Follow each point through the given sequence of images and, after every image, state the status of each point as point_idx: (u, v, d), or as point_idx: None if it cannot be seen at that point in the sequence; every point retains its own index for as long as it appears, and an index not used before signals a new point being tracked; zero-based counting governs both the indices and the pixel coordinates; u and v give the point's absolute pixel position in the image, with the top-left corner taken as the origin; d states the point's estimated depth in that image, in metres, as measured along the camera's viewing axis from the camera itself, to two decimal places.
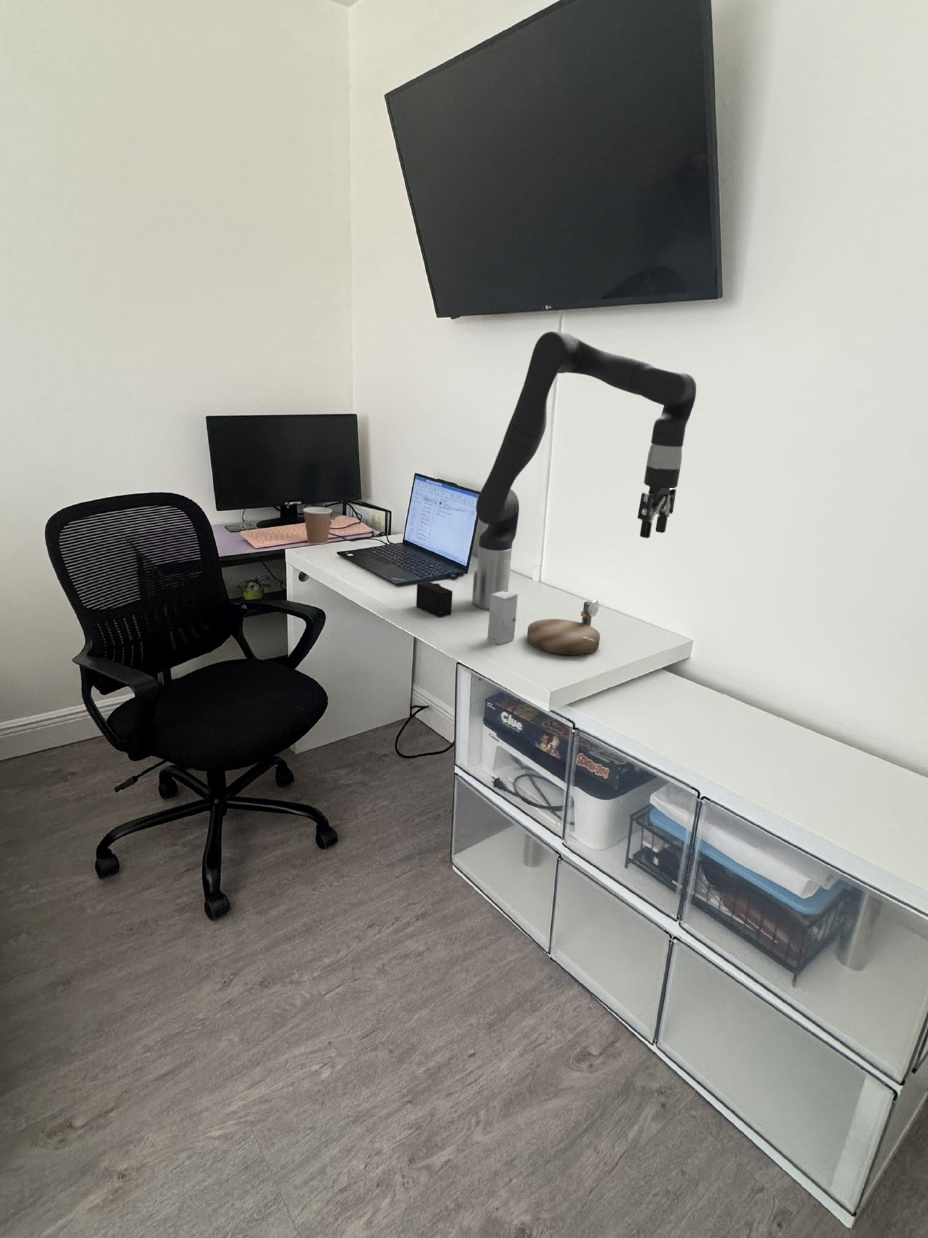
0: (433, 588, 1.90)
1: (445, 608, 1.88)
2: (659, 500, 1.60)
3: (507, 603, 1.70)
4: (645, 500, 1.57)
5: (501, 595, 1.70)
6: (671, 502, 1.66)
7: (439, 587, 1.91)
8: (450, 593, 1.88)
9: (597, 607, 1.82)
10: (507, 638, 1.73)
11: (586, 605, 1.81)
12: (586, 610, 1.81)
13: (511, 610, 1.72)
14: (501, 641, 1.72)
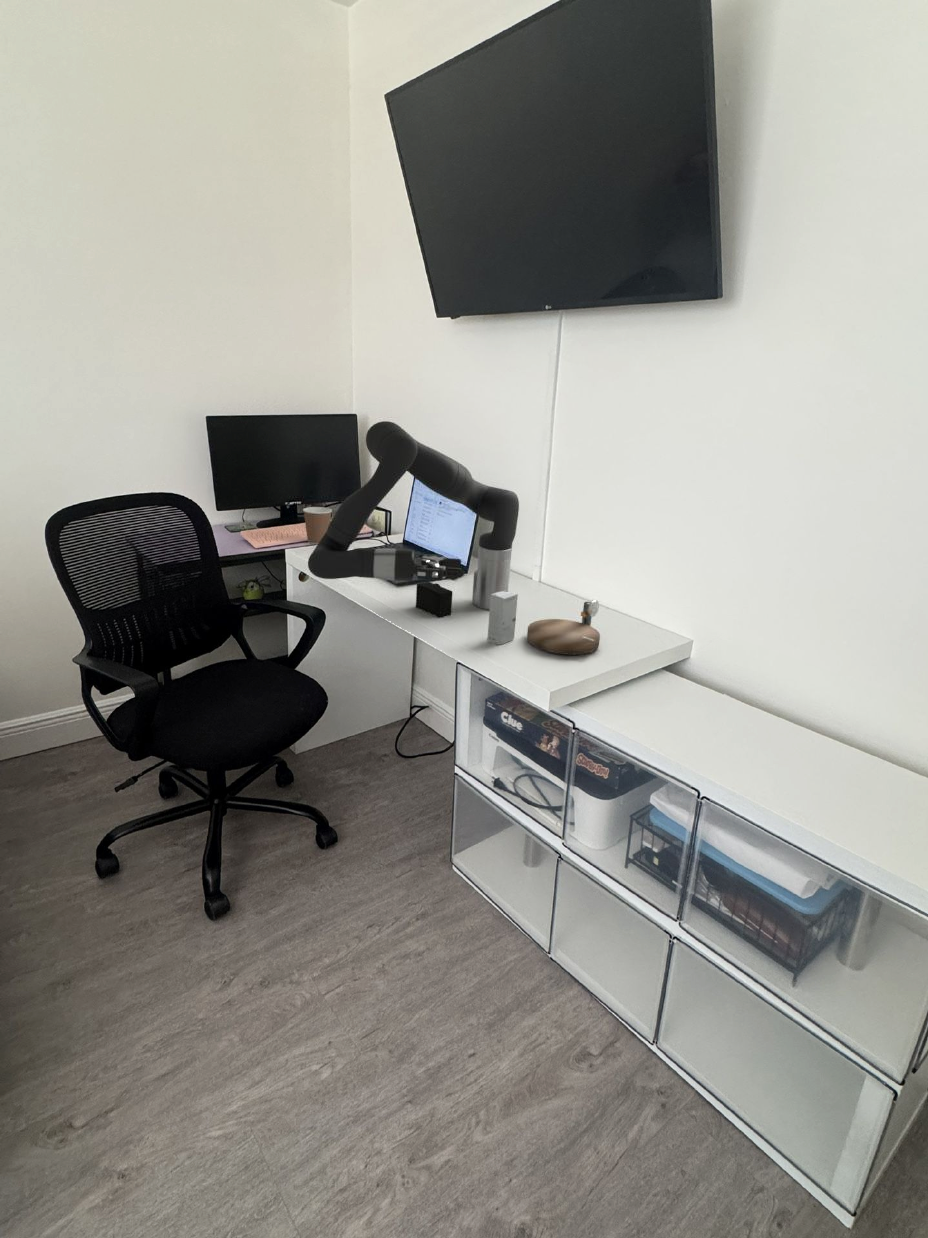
0: (432, 588, 1.89)
1: (445, 608, 1.88)
2: None
3: (507, 603, 1.70)
4: None
5: (501, 595, 1.70)
6: None
7: (439, 587, 1.91)
8: (450, 593, 1.88)
9: (597, 607, 1.82)
10: (507, 638, 1.73)
11: (586, 605, 1.81)
12: (586, 610, 1.81)
13: (511, 610, 1.72)
14: (501, 641, 1.72)
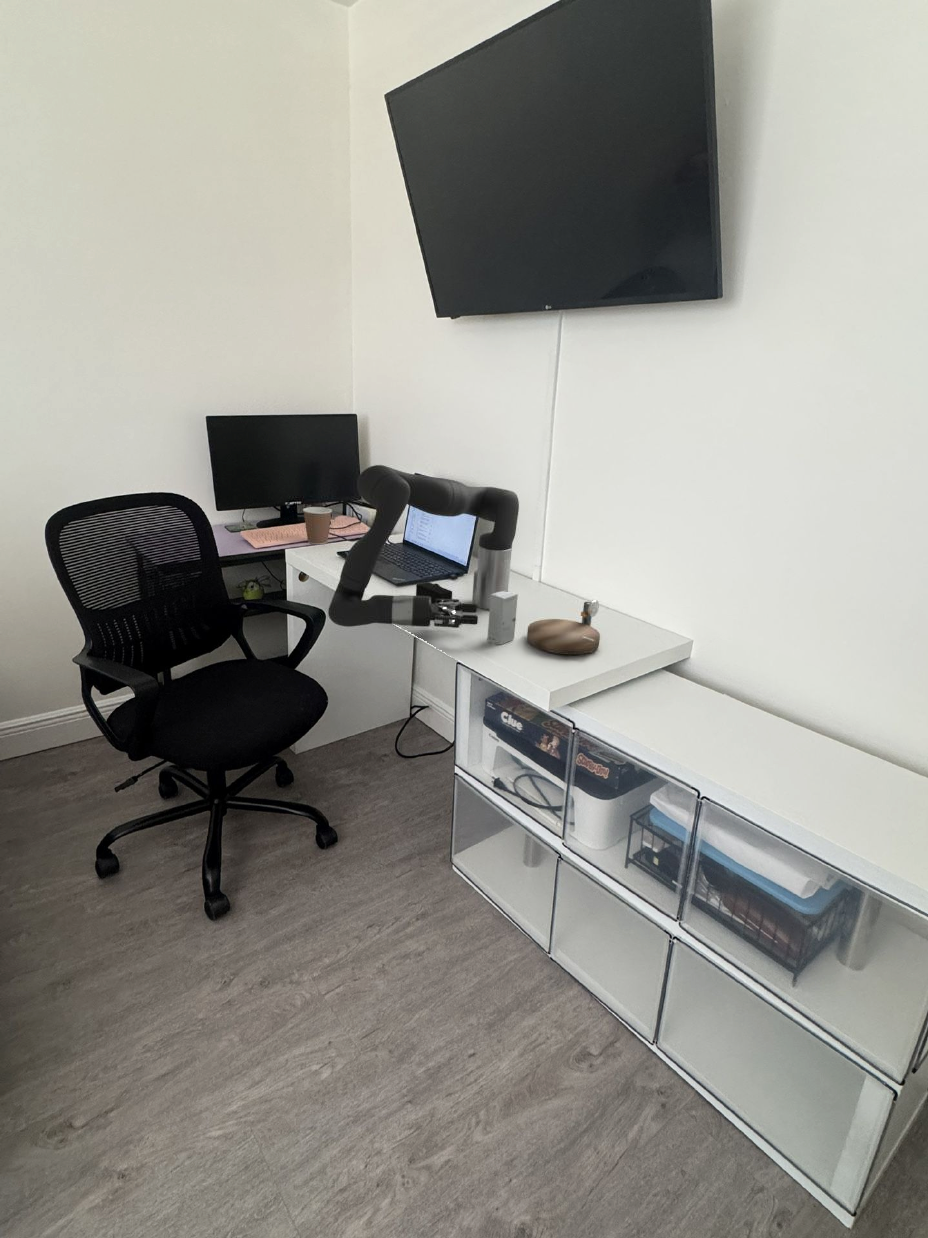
0: (432, 588, 1.89)
1: None
2: None
3: (507, 603, 1.70)
4: None
5: (501, 595, 1.70)
6: None
7: (439, 587, 1.90)
8: (450, 593, 1.88)
9: (597, 607, 1.82)
10: (507, 638, 1.73)
11: (586, 605, 1.81)
12: (586, 610, 1.81)
13: (511, 610, 1.72)
14: (501, 641, 1.72)
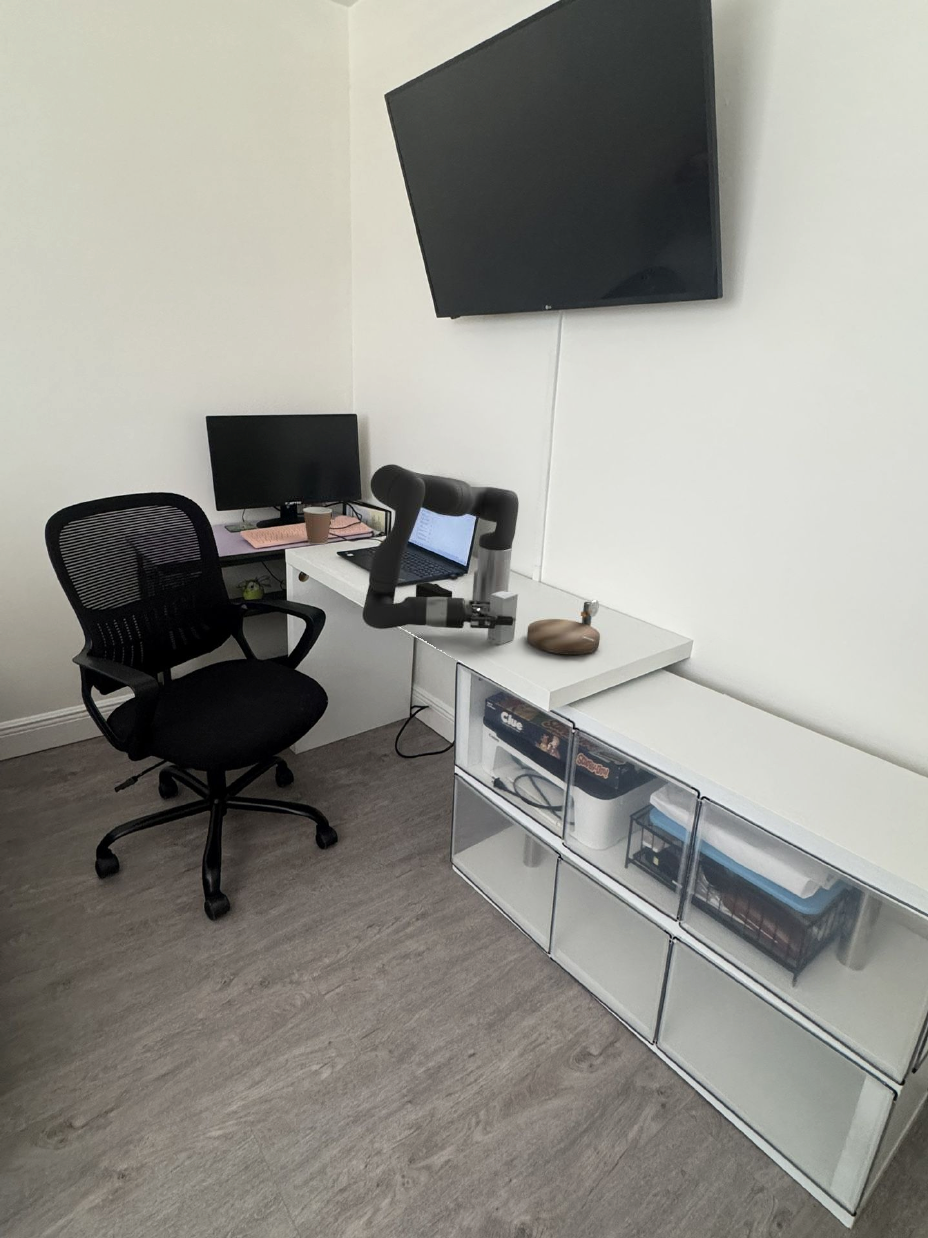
0: (432, 588, 1.89)
1: None
2: None
3: (507, 603, 1.70)
4: None
5: (501, 595, 1.70)
6: None
7: (438, 587, 1.90)
8: (450, 593, 1.88)
9: (597, 607, 1.82)
10: (507, 638, 1.73)
11: (586, 605, 1.81)
12: (586, 610, 1.81)
13: (511, 610, 1.72)
14: (501, 641, 1.72)
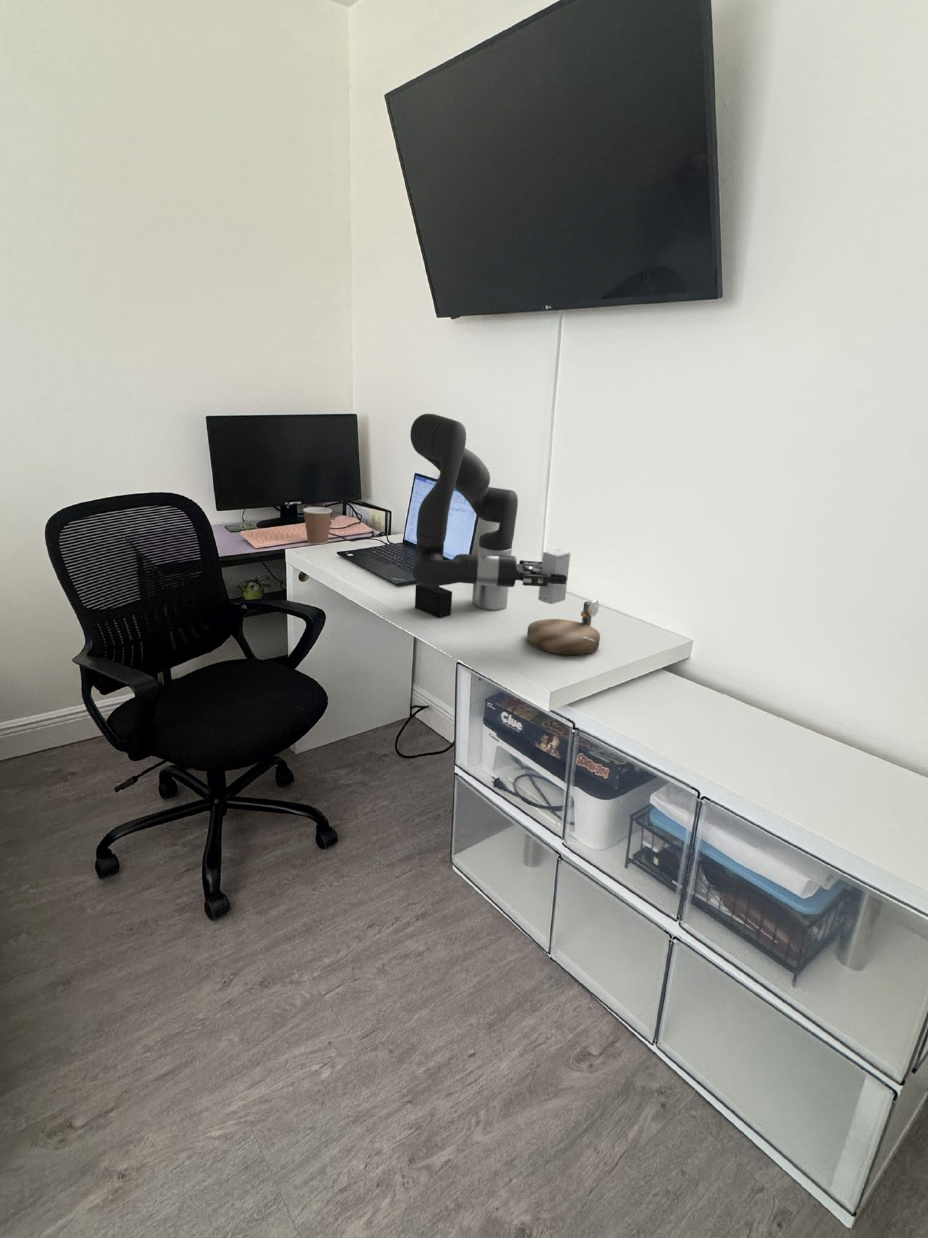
0: (432, 588, 1.89)
1: (445, 609, 1.88)
2: None
3: (559, 561, 1.66)
4: None
5: (554, 553, 1.67)
6: None
7: (438, 588, 1.90)
8: (450, 594, 1.88)
9: (597, 607, 1.82)
10: (558, 597, 1.70)
11: (586, 605, 1.81)
12: (586, 610, 1.81)
13: (564, 569, 1.68)
14: (553, 600, 1.68)
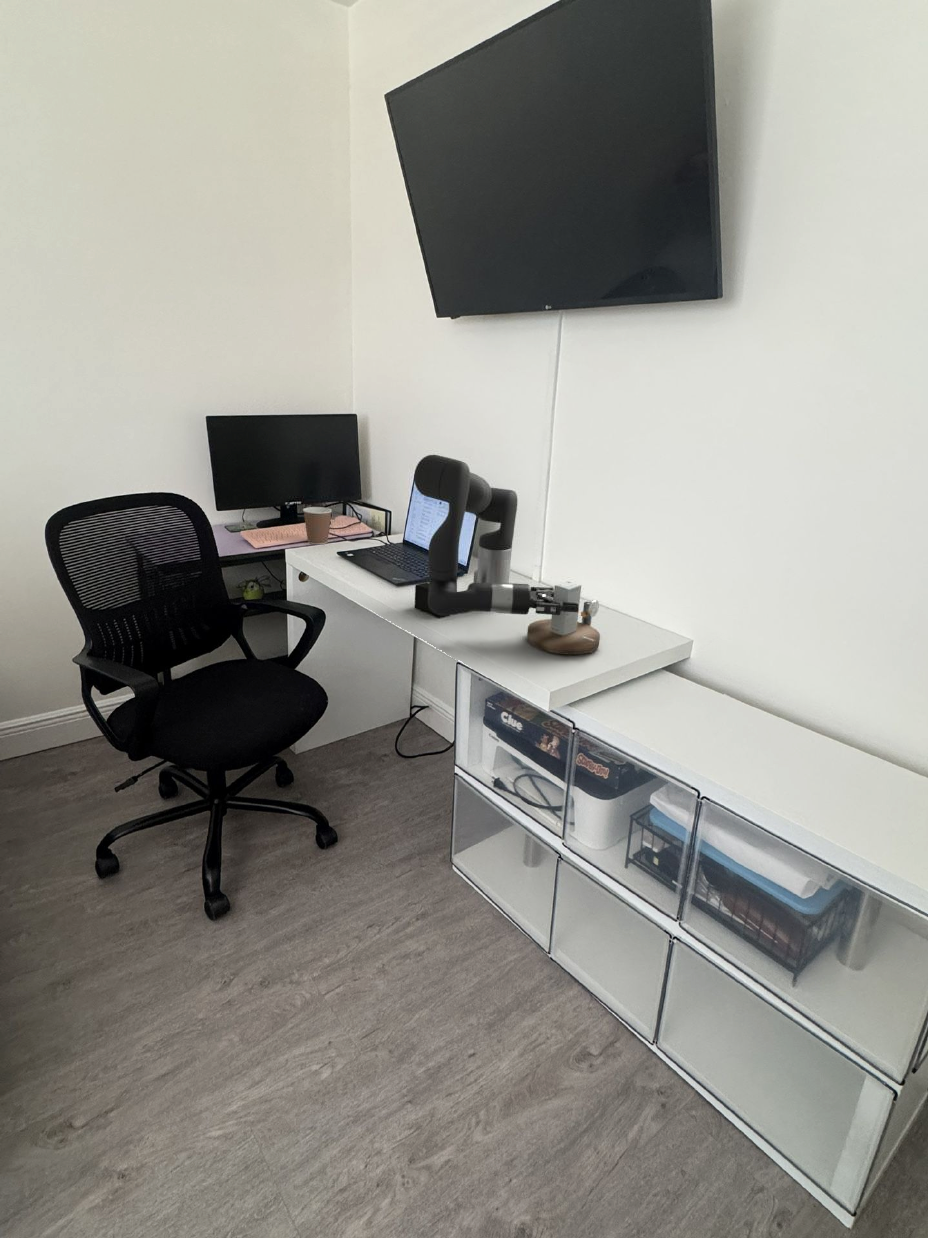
0: None
1: None
2: None
3: (571, 594, 1.70)
4: None
5: (566, 586, 1.70)
6: None
7: None
8: None
9: (597, 607, 1.82)
10: (570, 629, 1.73)
11: (586, 605, 1.81)
12: (586, 610, 1.81)
13: (575, 601, 1.72)
14: (565, 632, 1.72)
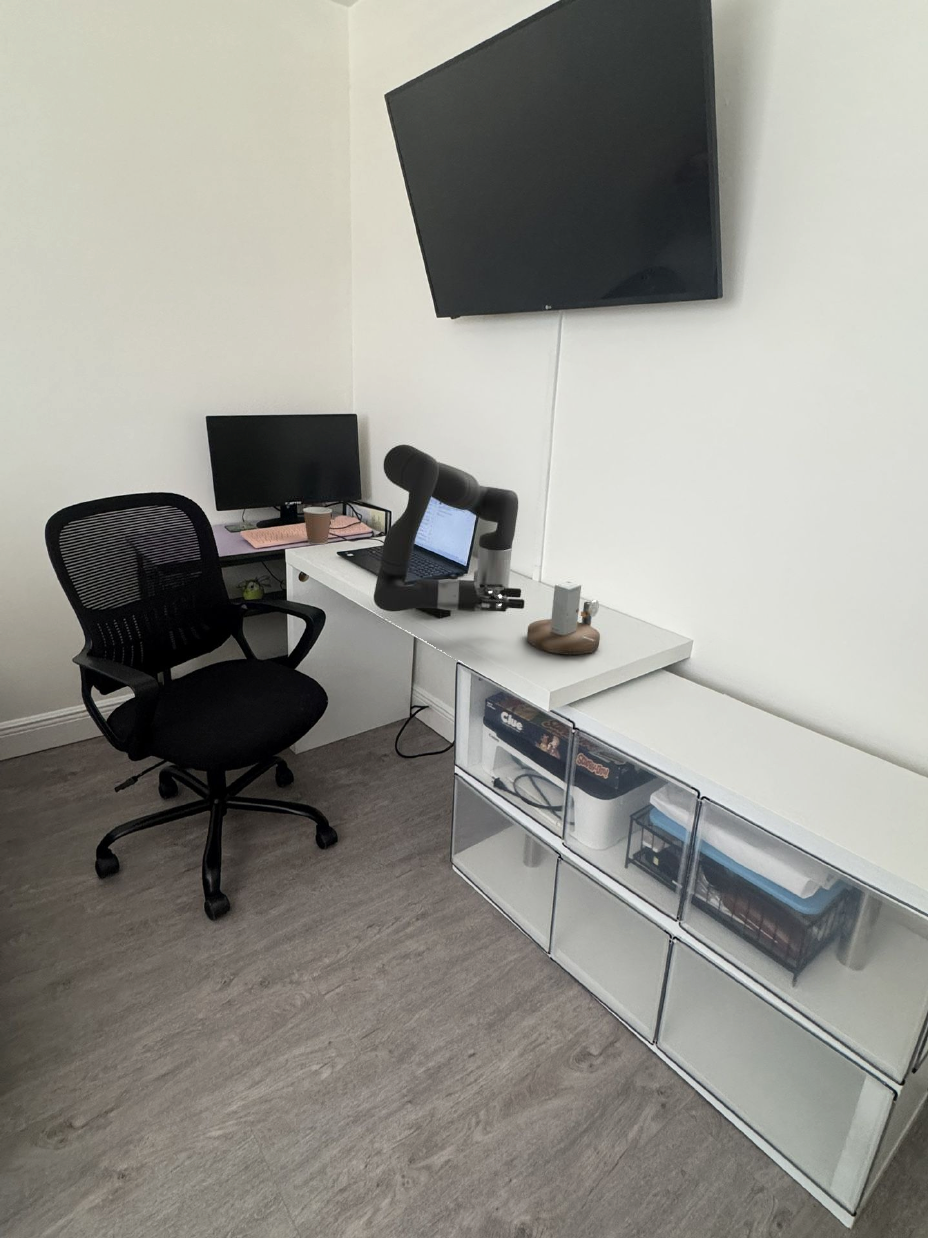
0: None
1: None
2: None
3: (571, 594, 1.70)
4: None
5: (566, 586, 1.70)
6: None
7: None
8: None
9: (597, 607, 1.82)
10: (570, 629, 1.73)
11: (586, 605, 1.81)
12: (586, 610, 1.81)
13: (575, 601, 1.72)
14: (565, 632, 1.72)
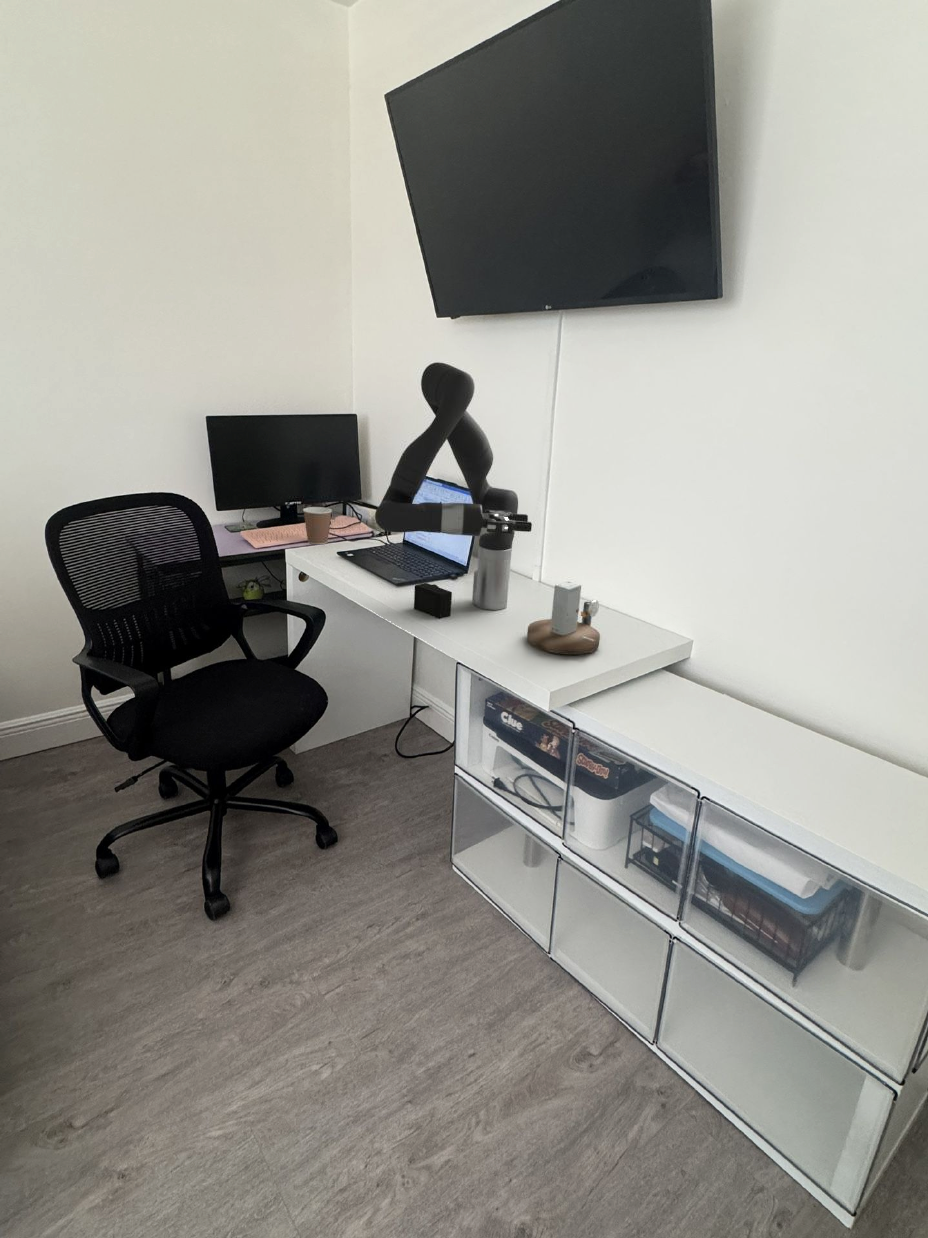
0: (431, 589, 1.88)
1: (445, 609, 1.87)
2: None
3: (571, 594, 1.70)
4: None
5: (566, 586, 1.70)
6: None
7: (438, 588, 1.90)
8: (450, 594, 1.87)
9: (597, 607, 1.82)
10: (570, 629, 1.73)
11: (586, 605, 1.81)
12: (586, 610, 1.81)
13: (575, 601, 1.72)
14: (565, 632, 1.72)
